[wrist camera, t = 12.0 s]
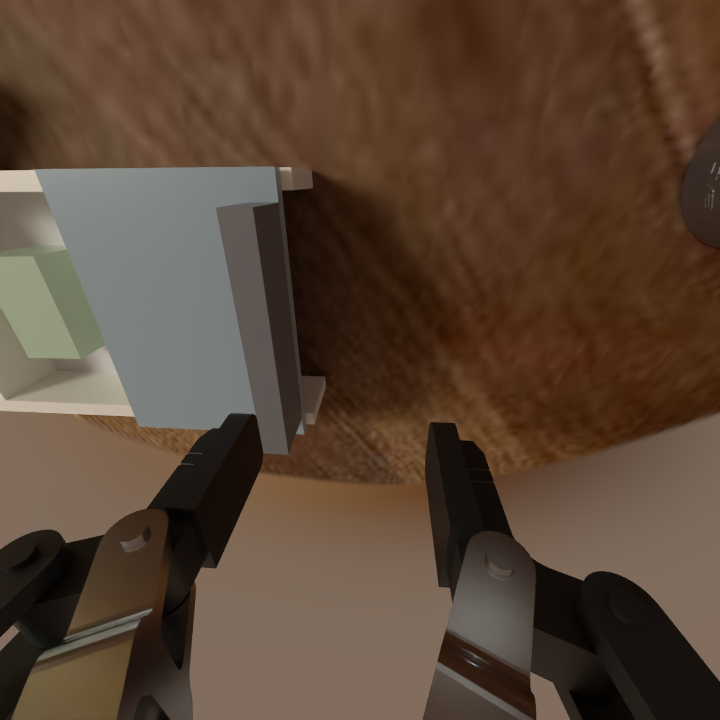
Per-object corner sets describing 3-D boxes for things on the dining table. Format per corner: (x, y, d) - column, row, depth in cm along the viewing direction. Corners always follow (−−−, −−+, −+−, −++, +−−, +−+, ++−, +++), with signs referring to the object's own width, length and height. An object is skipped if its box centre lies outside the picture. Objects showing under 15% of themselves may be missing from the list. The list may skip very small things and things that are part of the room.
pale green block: (85, 245, 24) (33, 256, 20) (121, 335, 27) (81, 359, 23) (33, 245, 24) (-27, 256, 20) (75, 335, 27) (28, 357, 24)
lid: (279, 167, 16) (246, 163, 12) (306, 426, 24) (291, 473, 20) (48, 169, 17) (-49, 166, 13) (146, 419, 25) (101, 463, 21)
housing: (311, 170, 21) (291, 167, 16) (325, 386, 28) (314, 424, 24) (-47, 173, 22) (-153, 172, 18) (56, 377, 30) (0, 410, 26)
